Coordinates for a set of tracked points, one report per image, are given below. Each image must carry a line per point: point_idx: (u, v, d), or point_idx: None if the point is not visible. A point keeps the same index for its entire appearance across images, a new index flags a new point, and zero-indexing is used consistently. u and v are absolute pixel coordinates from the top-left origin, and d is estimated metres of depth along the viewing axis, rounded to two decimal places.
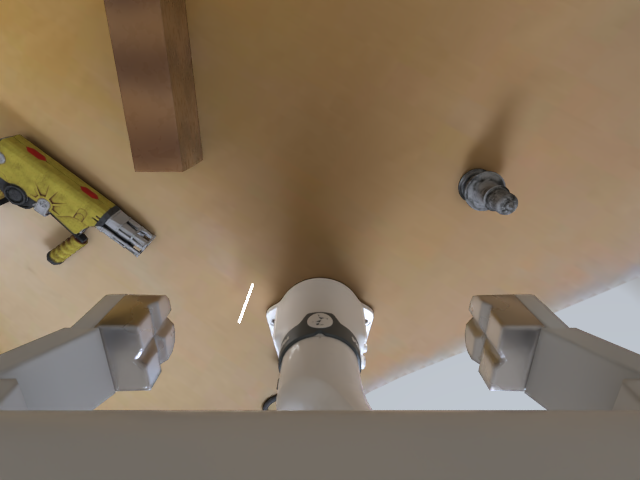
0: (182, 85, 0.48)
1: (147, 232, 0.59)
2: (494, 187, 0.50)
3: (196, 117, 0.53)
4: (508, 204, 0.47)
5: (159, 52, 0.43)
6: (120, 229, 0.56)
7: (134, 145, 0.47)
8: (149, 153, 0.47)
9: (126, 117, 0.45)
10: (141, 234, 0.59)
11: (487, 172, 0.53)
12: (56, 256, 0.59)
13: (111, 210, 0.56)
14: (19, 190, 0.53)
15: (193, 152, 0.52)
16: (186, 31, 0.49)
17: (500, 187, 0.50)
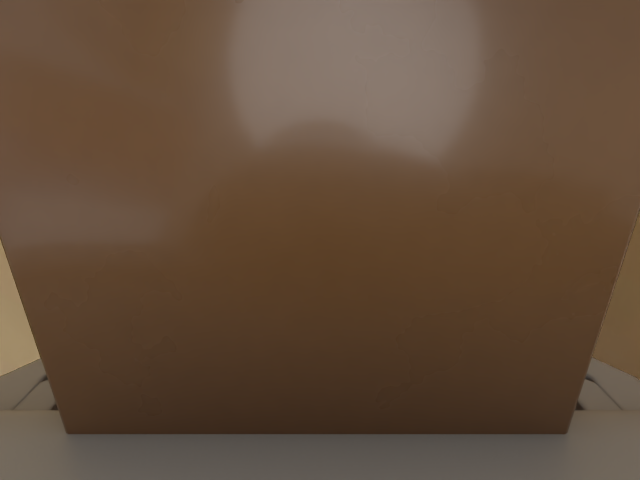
0: None
1: None
2: None
3: None
4: None
5: None
6: None
7: None
8: None
9: (38, 312, 0.04)
10: None
11: None
12: None
13: None
14: None
15: None
16: None
17: None
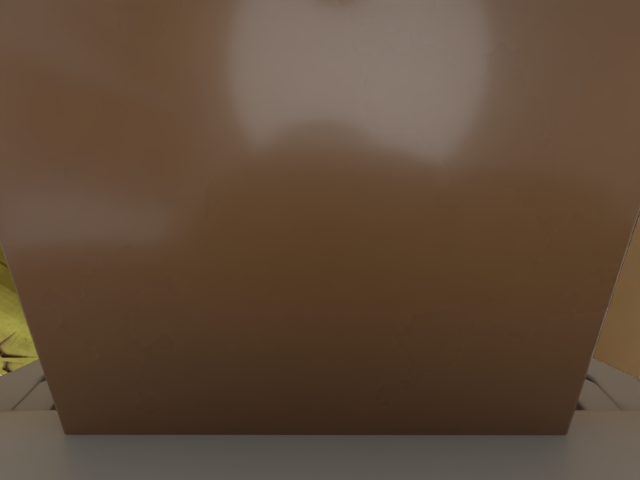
0: None
1: None
2: None
3: None
4: None
5: None
6: None
7: None
8: None
9: (35, 308, 0.04)
10: None
11: None
12: None
13: None
14: None
15: None
16: None
17: None
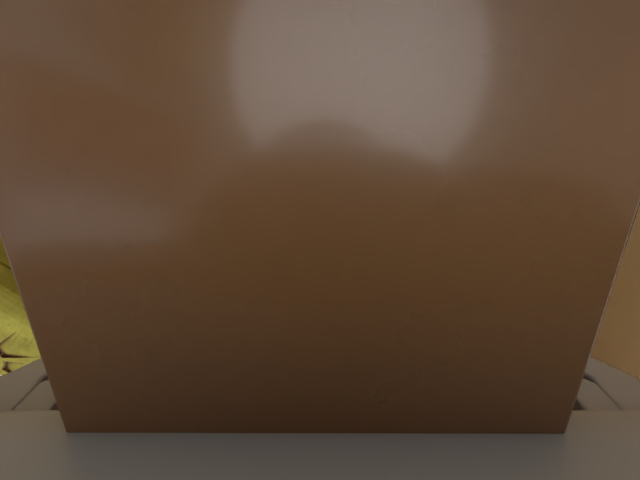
0: None
1: None
2: None
3: None
4: None
5: None
6: None
7: None
8: None
9: (37, 306, 0.04)
10: None
11: None
12: None
13: None
14: None
15: None
16: None
17: None
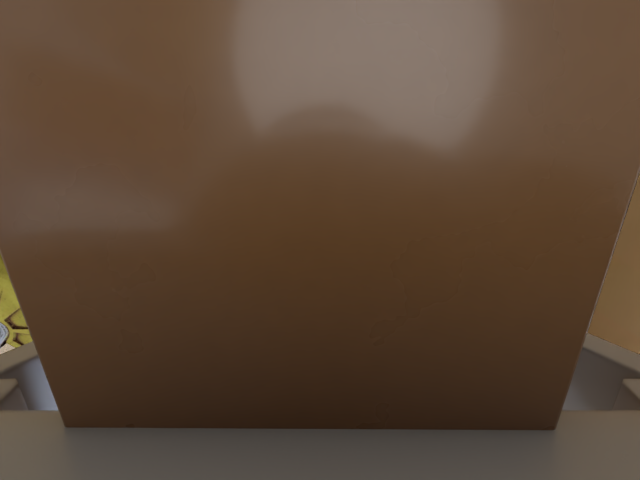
0: None
1: None
2: None
3: None
4: None
5: None
6: None
7: None
8: None
9: (8, 236, 0.04)
10: None
11: None
12: None
13: None
14: None
15: None
16: None
17: None
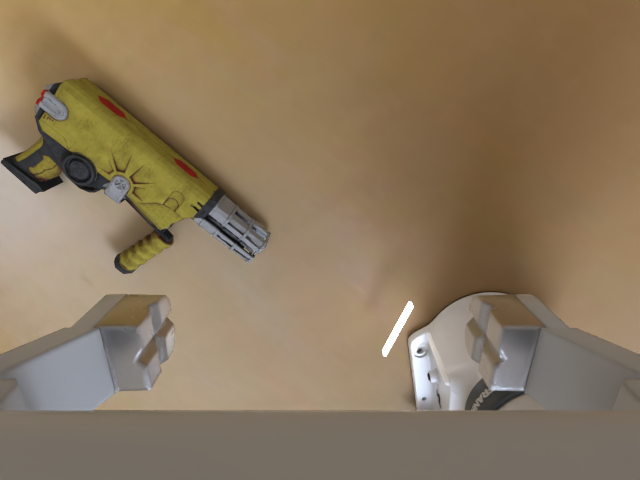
0: None
1: (260, 227, 0.41)
2: None
3: None
4: None
5: None
6: (230, 222, 0.38)
7: None
8: None
9: None
10: None
11: None
12: (129, 262, 0.41)
13: (216, 195, 0.38)
14: (86, 162, 0.35)
15: None
16: None
17: None
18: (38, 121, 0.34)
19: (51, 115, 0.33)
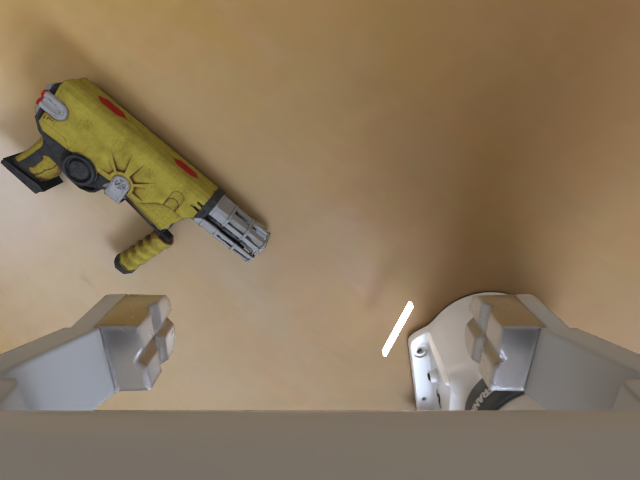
0: None
1: (260, 227, 0.41)
2: None
3: None
4: None
5: None
6: (230, 222, 0.38)
7: None
8: None
9: None
10: None
11: None
12: (129, 262, 0.41)
13: (216, 195, 0.38)
14: (86, 162, 0.35)
15: None
16: None
17: None
18: (38, 121, 0.34)
19: (51, 115, 0.33)
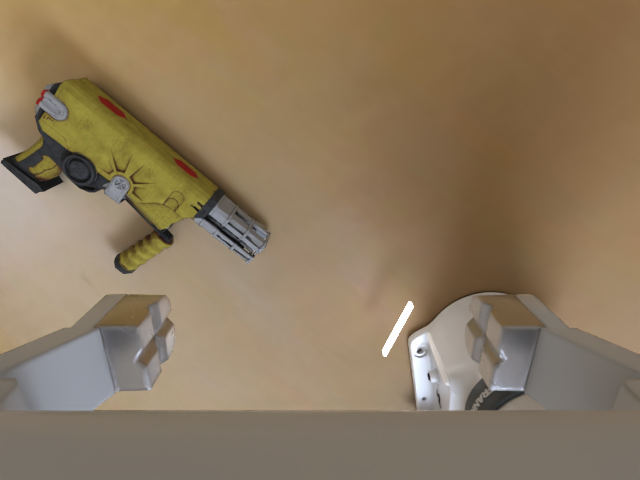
0: None
1: (260, 227, 0.41)
2: None
3: None
4: None
5: None
6: (230, 222, 0.38)
7: None
8: None
9: None
10: None
11: None
12: (129, 262, 0.41)
13: (216, 195, 0.38)
14: (86, 162, 0.35)
15: None
16: None
17: None
18: (38, 121, 0.34)
19: (51, 115, 0.33)
